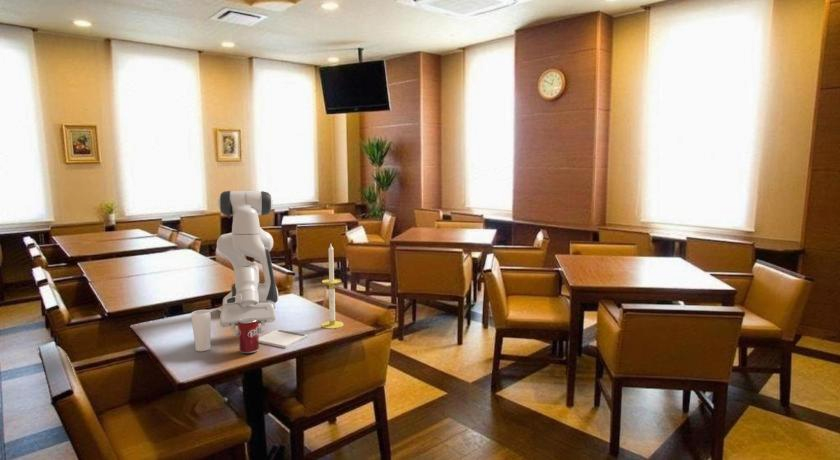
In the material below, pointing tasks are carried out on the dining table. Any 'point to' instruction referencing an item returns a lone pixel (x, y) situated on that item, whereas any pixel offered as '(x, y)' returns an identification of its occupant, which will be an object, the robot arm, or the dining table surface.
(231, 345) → the dining table surface
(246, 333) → the soda can
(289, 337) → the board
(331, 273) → the candle
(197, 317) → the drinking glass
